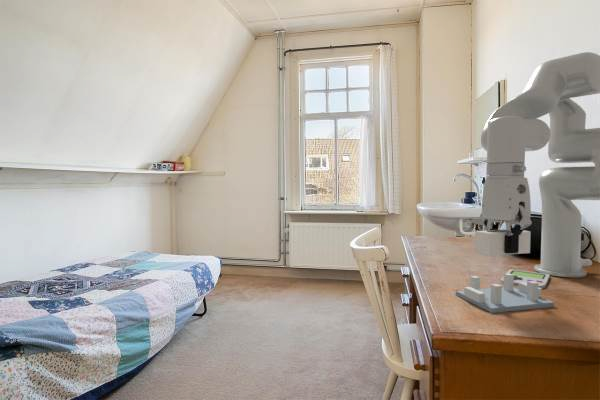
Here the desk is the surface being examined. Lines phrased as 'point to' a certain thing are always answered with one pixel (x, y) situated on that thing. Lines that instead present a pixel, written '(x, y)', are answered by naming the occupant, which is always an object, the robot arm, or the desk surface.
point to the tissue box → (499, 242)
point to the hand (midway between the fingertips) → (502, 250)
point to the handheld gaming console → (528, 277)
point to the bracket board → (505, 295)
